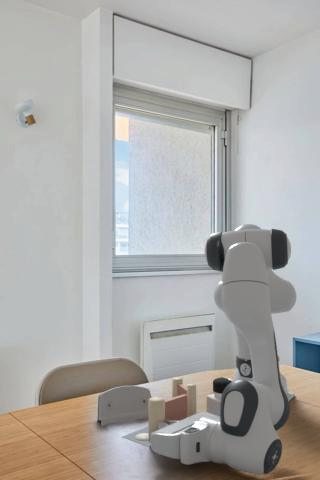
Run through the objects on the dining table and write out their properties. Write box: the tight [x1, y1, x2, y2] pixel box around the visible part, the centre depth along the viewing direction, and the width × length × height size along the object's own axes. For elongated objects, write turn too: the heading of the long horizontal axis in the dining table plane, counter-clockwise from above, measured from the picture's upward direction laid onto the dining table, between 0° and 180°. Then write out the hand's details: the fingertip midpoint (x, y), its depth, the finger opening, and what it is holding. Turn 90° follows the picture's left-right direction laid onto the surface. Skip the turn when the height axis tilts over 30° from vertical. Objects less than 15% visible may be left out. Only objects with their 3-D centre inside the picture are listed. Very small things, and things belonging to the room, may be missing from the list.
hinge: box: [96, 385, 153, 427], centre depth 137 cm, size 17×5×10 cm, turn 111°
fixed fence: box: [171, 377, 197, 417], centre depth 131 cm, size 14×3×12 cm, turn 18°
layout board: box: [121, 425, 201, 465], centre depth 122 cm, size 22×24×1 cm
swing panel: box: [148, 394, 187, 443], centre depth 119 cm, size 13×4×10 cm, turn 135°
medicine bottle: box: [206, 376, 234, 417], centre depth 133 cm, size 7×7×12 cm
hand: (161, 424), depth 115 cm, fingers closed, pressing on swing panel
